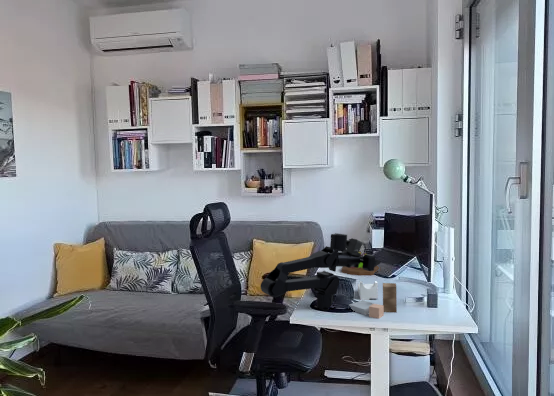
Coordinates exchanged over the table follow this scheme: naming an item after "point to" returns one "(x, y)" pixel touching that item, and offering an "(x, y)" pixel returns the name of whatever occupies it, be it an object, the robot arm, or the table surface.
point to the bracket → (368, 290)
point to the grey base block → (361, 307)
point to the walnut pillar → (389, 297)
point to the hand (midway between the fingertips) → (373, 259)
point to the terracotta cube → (376, 311)
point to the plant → (358, 269)
